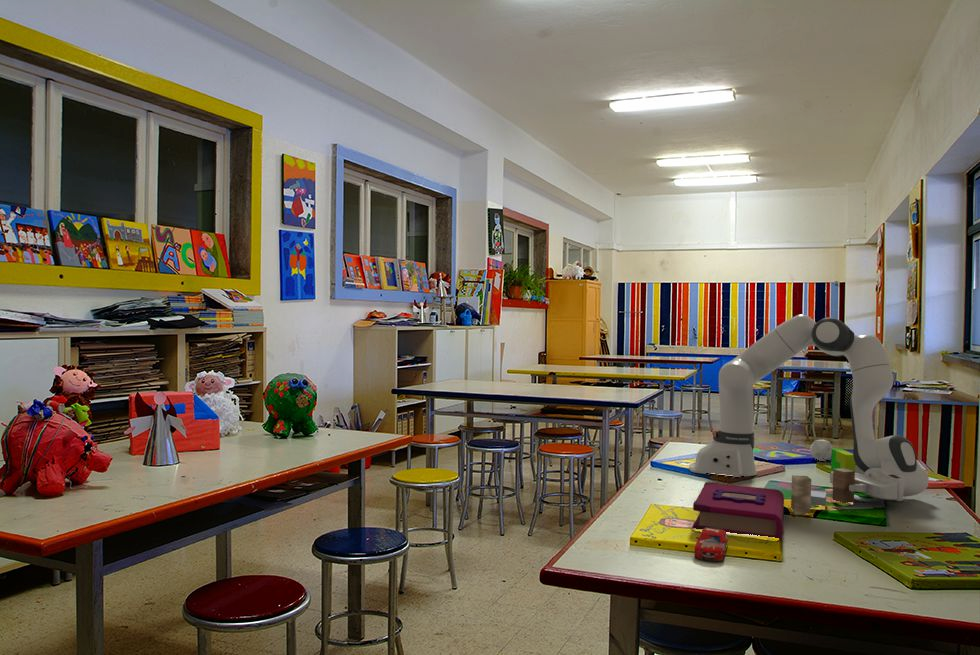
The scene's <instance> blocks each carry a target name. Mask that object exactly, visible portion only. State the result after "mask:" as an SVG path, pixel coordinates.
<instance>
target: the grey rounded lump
mask: <svg viewBox="0 0 980 655" xmlns="http://www.w3.org/2000/svg"><path fill="white" fill-rule="evenodd" d="M832 449H835V447H834V446H833V445H832V443H831V442H830V441H829V440H826V439H815V440H814V441H813V442H812V443H811V445H810V449H809V454H810V455H811V456H812V457H814V458H815V459H814V458H813V459H814V460H816V459H817V460H816V461H818V460H819V461H818V462H820V461H824V462H827V461H826V460H829V461H831V454H832Z"/></svg>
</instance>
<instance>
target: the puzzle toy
mask: <svg viewBox="0 0 980 655" xmlns="http://www.w3.org/2000/svg"><path fill="white" fill-rule="evenodd" d="M842 468H845V469H849V470H852V471H855V473H859V474H862V475H864V474H865V472H864V471H862V470H861V469H860V468H859V467H858V466H857V465H856V463H855V461H854V458H853V449H852V448H849V449H848V448H847V449H846V448H834V449H832V454H831V459H830V473H831V472H832V471H833V469H842Z"/></svg>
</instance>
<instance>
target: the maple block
mask: <svg viewBox="0 0 980 655" xmlns="http://www.w3.org/2000/svg"><path fill="white" fill-rule="evenodd" d="M811 491H812V478H811V477H809V476H807V475H797V474H796V475H793V474H792V475H791V492H790V493H791V498H790V509H791V508H792V509H793V512H794V513H793V512H792V513H793V515H794V516H802V515H801V514H806V513H810V514H811V509H810V508H811Z"/></svg>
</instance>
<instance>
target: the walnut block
mask: <svg viewBox="0 0 980 655" xmlns="http://www.w3.org/2000/svg"><path fill="white" fill-rule="evenodd" d="M847 484H855V471H852V470H849V469H845V468H842V469H833V485H832V499H833V500H836V501H840V502H842V503H846V502H847V503H848V502H853V503H854V504H855V491H848V490H847Z"/></svg>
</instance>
